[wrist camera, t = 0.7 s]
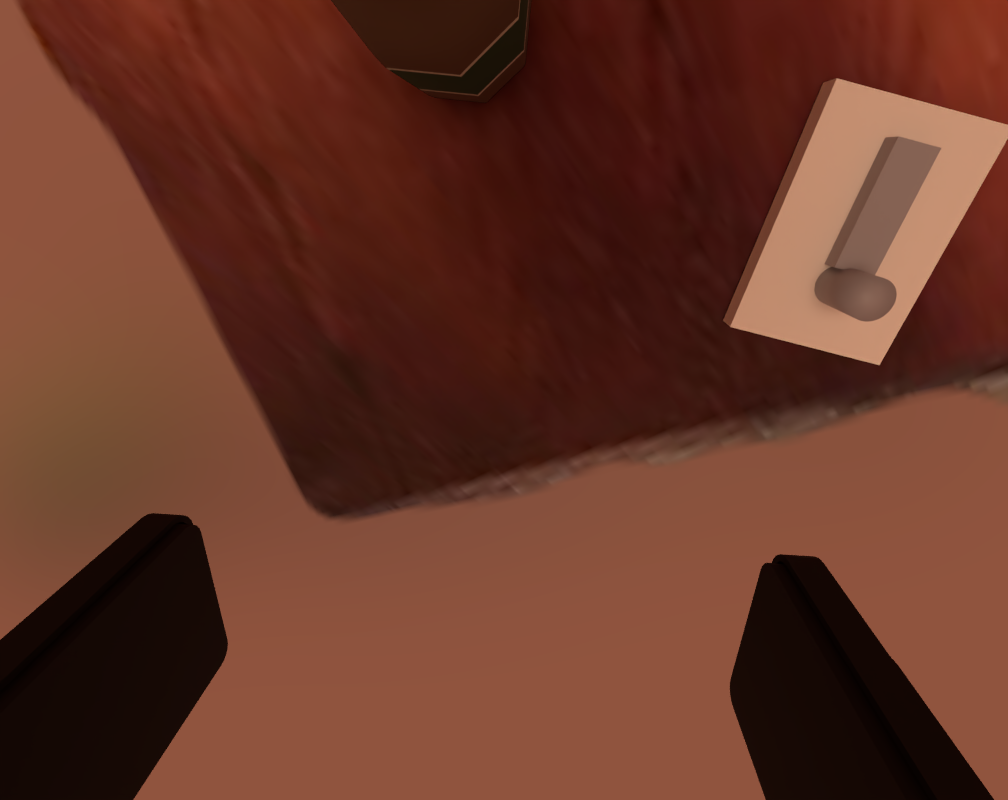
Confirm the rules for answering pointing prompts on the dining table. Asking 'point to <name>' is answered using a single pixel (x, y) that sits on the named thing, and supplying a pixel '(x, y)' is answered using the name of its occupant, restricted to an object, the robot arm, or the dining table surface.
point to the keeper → (861, 219)
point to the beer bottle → (445, 42)
